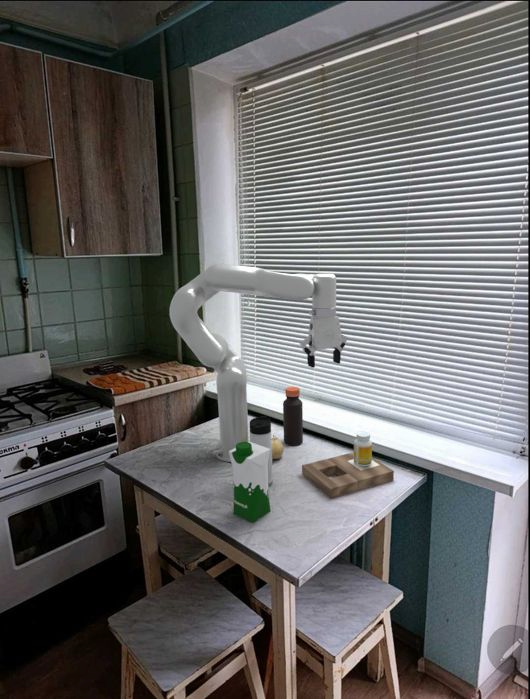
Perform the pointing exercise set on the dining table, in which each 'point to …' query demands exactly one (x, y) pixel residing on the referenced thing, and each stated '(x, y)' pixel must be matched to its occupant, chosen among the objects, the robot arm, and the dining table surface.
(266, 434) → the travel mug
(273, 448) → the onion
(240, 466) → the milk carton
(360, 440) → the supplement bottle
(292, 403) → the vinegar
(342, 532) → the dining table surface
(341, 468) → the socket board
